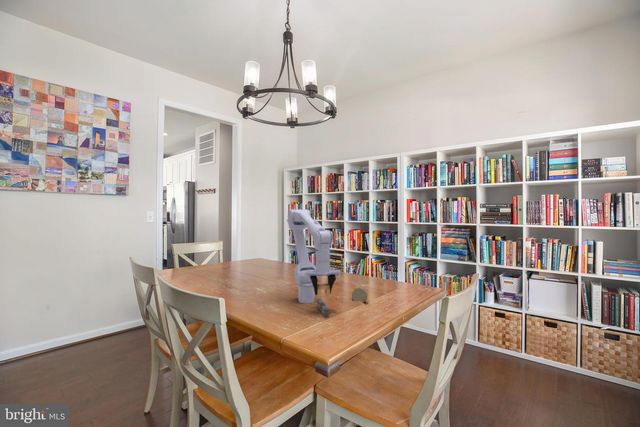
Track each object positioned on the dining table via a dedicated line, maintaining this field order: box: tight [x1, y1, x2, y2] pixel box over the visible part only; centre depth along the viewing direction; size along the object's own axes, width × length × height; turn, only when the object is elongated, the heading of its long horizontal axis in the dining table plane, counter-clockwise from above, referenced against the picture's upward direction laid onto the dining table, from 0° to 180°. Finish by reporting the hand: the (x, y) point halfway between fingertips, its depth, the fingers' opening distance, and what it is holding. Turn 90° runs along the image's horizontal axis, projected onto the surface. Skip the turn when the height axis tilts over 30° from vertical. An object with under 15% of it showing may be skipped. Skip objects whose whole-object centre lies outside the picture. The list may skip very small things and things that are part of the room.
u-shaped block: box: [316, 282, 331, 298], centre depth 118 cm, size 4×5×4 cm
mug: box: [351, 287, 368, 304], centre depth 135 cm, size 8×10×10 cm
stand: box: [316, 298, 330, 319], centre depth 118 cm, size 18×8×4 cm, turn 13°
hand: (322, 293), depth 118 cm, fingers closed on u-shaped block, 5 cm apart
